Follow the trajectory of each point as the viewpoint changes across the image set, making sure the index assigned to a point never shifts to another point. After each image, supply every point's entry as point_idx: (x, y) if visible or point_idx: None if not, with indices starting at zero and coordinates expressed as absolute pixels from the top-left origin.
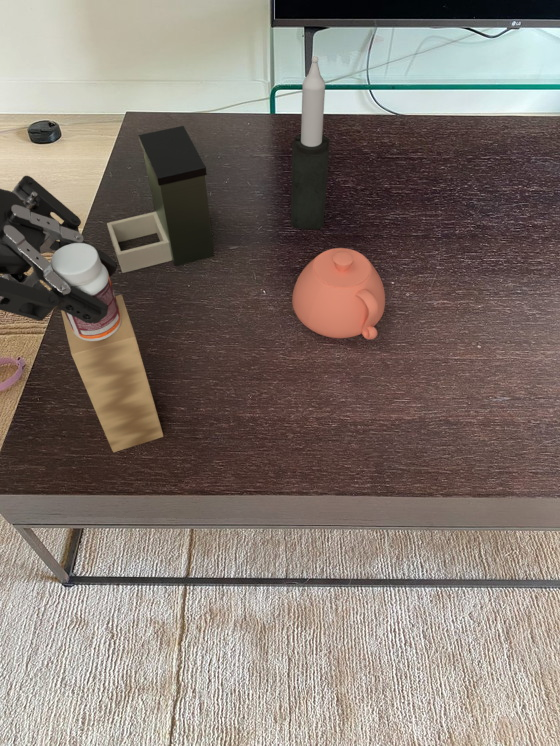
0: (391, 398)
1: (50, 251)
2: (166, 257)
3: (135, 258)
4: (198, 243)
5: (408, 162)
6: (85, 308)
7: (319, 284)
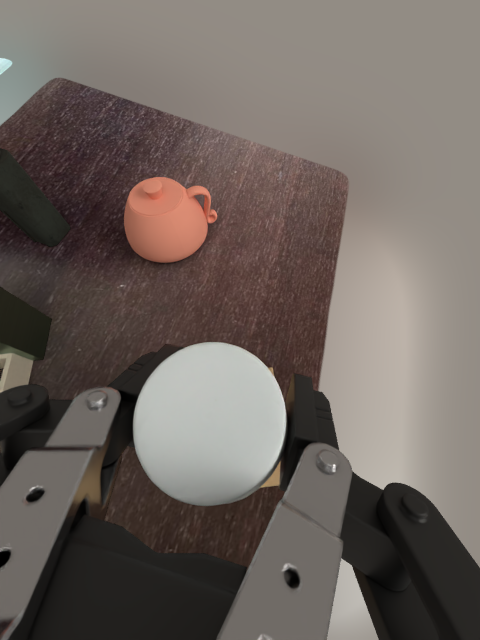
0: (264, 228)
1: (106, 505)
2: (27, 364)
3: None
4: (32, 323)
5: (33, 153)
6: (329, 417)
7: (166, 217)
